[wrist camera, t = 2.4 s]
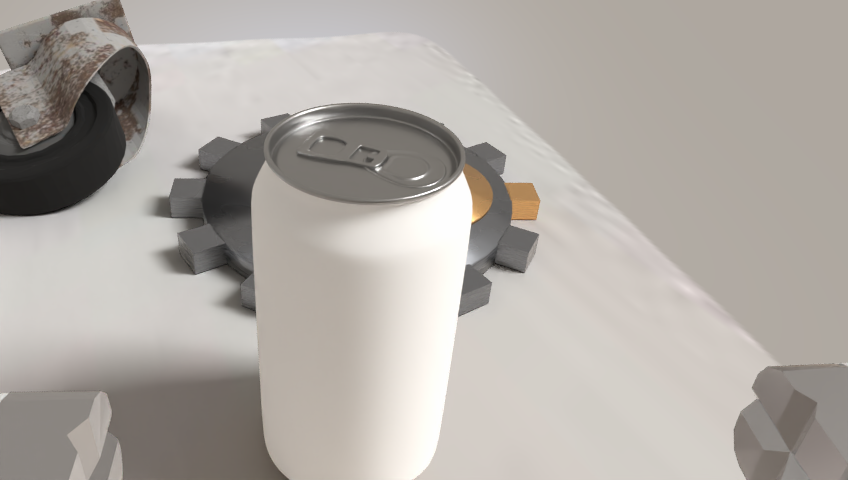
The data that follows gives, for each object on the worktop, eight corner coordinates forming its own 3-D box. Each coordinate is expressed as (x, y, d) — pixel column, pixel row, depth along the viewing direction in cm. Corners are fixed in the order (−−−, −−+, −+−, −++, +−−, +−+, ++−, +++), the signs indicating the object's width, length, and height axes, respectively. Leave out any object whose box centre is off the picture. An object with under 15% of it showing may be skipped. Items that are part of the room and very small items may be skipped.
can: (404, 534, 25) (440, 236, 18) (229, 471, 26) (199, 171, 19) (460, 397, 30) (505, 124, 23) (310, 351, 31) (310, 80, 24)
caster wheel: (4, 269, 38) (-43, 155, 43) (213, 178, 42) (147, 85, 47) (-62, 173, 33) (-105, 58, 38) (184, 81, 37) (114, -11, 42)
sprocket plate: (140, 334, 31) (135, 308, 30) (197, 122, 46) (195, 101, 46) (581, 327, 34) (588, 303, 33) (498, 129, 49) (501, 110, 48)
